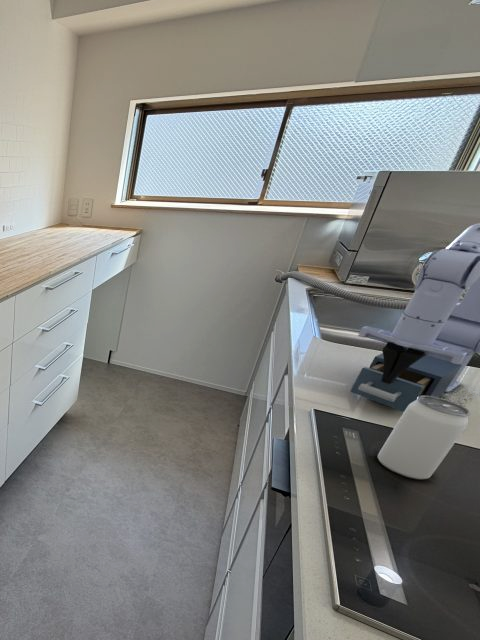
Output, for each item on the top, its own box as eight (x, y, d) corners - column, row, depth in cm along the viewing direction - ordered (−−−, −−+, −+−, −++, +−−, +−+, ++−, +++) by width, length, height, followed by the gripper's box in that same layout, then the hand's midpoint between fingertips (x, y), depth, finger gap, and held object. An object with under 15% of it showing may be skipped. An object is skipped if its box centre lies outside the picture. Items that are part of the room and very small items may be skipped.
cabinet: (421, 409, 84) (442, 377, 81) (358, 386, 93) (375, 356, 89) (442, 395, 90) (462, 365, 87) (381, 375, 98) (397, 346, 95)
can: (441, 484, 64) (488, 419, 59) (393, 477, 65) (435, 413, 60) (410, 458, 70) (450, 397, 64) (366, 452, 71) (402, 391, 65)
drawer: (398, 419, 79) (414, 393, 76) (339, 396, 86) (352, 372, 84) (427, 399, 87) (442, 375, 84) (371, 380, 94) (384, 357, 91)
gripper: (366, 308, 80) (335, 370, 86) (474, 334, 68) (429, 403, 75) (380, 303, 83) (349, 364, 89) (486, 327, 72) (442, 394, 78)
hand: (387, 381), depth 82 cm, fingers closed
